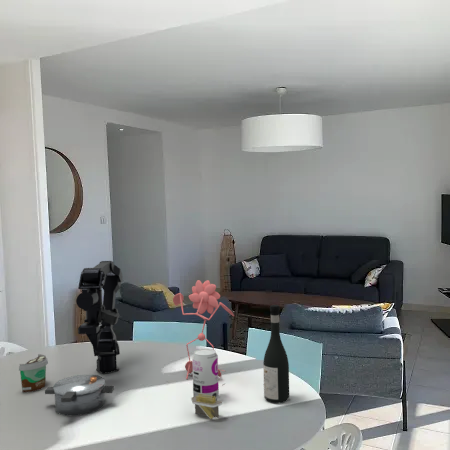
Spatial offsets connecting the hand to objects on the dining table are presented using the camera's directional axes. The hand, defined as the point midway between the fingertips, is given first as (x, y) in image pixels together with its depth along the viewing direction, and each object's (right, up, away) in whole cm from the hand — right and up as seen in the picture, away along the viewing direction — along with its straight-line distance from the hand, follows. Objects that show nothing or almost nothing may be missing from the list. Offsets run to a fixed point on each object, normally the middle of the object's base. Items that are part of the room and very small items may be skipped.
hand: (95, 347), depth 176 cm
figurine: (+39, -12, +7) cm, 41 cm away
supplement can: (+39, -13, -14) cm, 44 cm away
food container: (-20, -14, -1) cm, 24 cm away
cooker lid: (0, -8, -21) cm, 22 cm away
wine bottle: (+62, -12, -17) cm, 65 cm away
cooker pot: (0, -14, -18) cm, 23 cm away
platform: (+40, -14, -28) cm, 51 cm away
